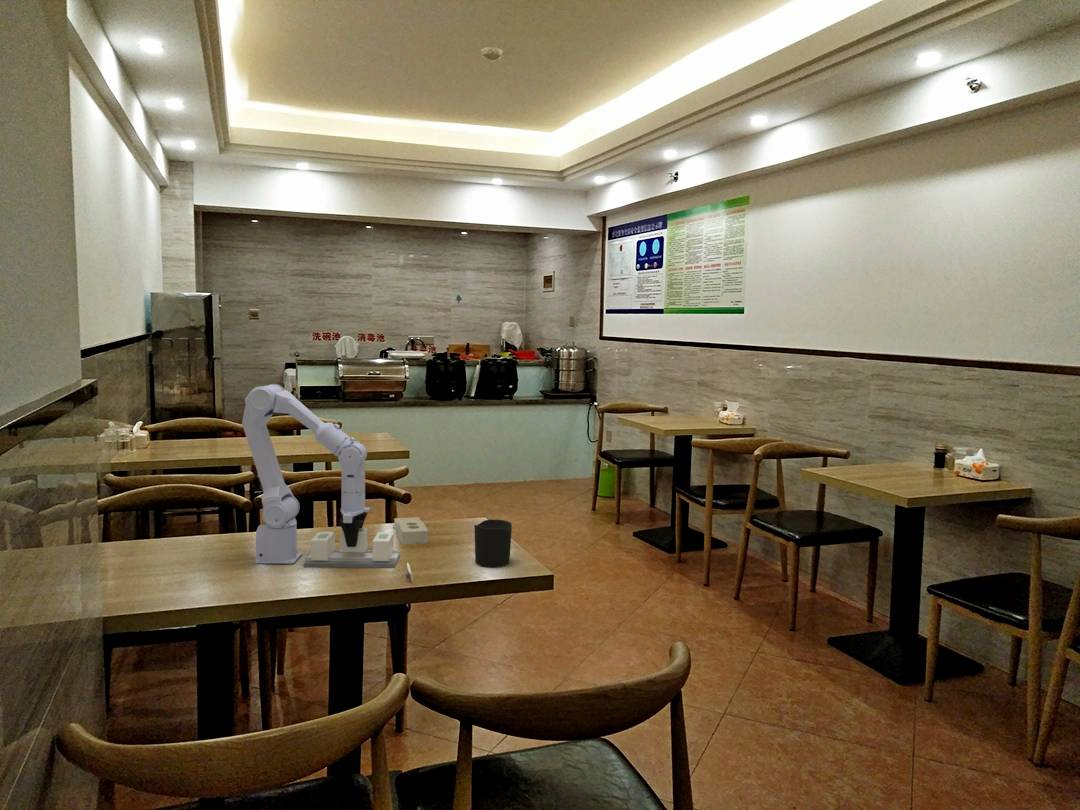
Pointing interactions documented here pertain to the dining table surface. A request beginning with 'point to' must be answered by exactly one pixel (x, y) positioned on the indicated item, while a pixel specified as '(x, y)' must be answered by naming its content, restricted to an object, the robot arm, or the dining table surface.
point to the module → (361, 542)
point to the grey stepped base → (352, 553)
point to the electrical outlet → (411, 530)
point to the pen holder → (493, 543)
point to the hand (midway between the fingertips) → (353, 544)
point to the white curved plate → (409, 573)
